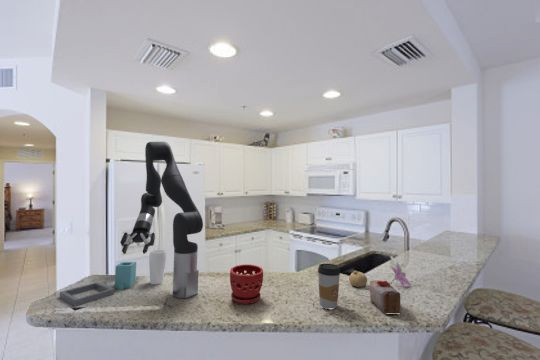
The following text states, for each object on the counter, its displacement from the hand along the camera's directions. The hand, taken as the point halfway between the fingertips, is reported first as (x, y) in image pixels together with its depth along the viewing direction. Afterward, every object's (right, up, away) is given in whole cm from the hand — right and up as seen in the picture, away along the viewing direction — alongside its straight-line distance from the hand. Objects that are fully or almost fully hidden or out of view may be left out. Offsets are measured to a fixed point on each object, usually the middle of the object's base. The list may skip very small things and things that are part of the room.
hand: (134, 252), depth 120 cm
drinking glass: (+12, -14, -4) cm, 18 cm away
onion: (+103, -16, +2) cm, 104 cm away
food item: (+106, -15, -20) cm, 109 cm away
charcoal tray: (-7, -12, -20) cm, 25 cm away
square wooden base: (+1, -13, -9) cm, 16 cm away
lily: (+122, -17, +2) cm, 124 cm away
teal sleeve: (+1, -11, -9) cm, 14 cm away
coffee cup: (+84, -15, -21) cm, 88 cm away
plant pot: (+53, -14, -16) cm, 57 cm away
